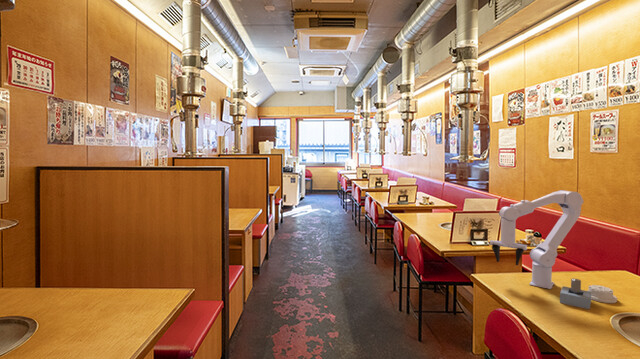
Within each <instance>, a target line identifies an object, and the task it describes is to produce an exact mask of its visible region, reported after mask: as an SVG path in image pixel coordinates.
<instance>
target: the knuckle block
mask: <svg viewBox="0 0 640 359" xmlns="http://www.w3.org/2000/svg"><path fill="white" fill-rule="evenodd" d="M559 303H560V304H564V305H568V306H571V307H572V306H573V307H576V308H582V309H586V310H590V309H591V304H592V299H591V292H590V291H588V290H585V289H581V295H577V294H573V293H571V286H570V287H569V286H564V285H562V288H561V290H560V293H559Z"/></svg>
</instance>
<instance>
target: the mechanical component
mask: <svg viewBox="0 0 640 359" xmlns="http://www.w3.org/2000/svg"><path fill="white" fill-rule="evenodd" d="M587 291H590V292H591V301H592V300H593V301H595V302H600V303H605V304H616V303H617V302H618V297H617V296H615V295H614V290H613V289H611V288H610V287H606V286H603V285H598V284H597V285H595V284H592V285H588V290H587Z"/></svg>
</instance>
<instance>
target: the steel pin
mask: <svg viewBox="0 0 640 359" xmlns="http://www.w3.org/2000/svg"><path fill="white" fill-rule="evenodd" d="M570 288H571V293H573V294H577V295H581V290H582V289H581V288H582V279H579V278H571V280H570Z"/></svg>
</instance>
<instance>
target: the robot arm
mask: <svg viewBox="0 0 640 359" xmlns="http://www.w3.org/2000/svg"><path fill="white" fill-rule="evenodd" d="M584 203H585V202H584V199H583V197H582V195H581V193H579V192H578V191H570V190H564V189H560V190H558V191H552V192H551V193H549V194H548V193H547V194H545V195H544V196H541V197H539V198H536V199H534V200H531V201H530V200H527V199H522V200H520V202H518V203H517V202H516V203H514V204H513V203H512V204H510V205H509V206H503V207H501V209H500V210H499V212H498V215H499V217H500V240H492V239H491V240H489V246H491V249H492V251H493V253H494V256H495V260H496V262H497V263H498V262H500V260H501V258H500V253H501V252H500V249H501V247H502V248H503V247H504V248H511V249H515V266H519V264H520V259H521V258H522V255H523V253H524V251H527V250H528V245H527V244H522V243H517V242H516V224H517V223H516V220H517V219H518V218H520V217H522V216H526V215H528V214H532V213H533V212H534V210H535V209H537V208H540V207H544V206H547V205H550V204H558V205H559V207H560V208H561V210H562V213H563V214H562V215H561V216H560V217H559V218H558V220H557V222H556V223H555V225H554V226H553V228H552V229H551V231H550V232H549V233H548V235H547V236H546V238H545V239H544V241H543V242H541V243H539V244H537V246H535V248H533V249H531V250H530V252H529V257H530V259H531V260H532V264H531V265H532V268H531V272H532V273H531V281H530V282H529V285H530V286H533V287H538V288H539V287H540V288H544V289H549V290H551V289H552V288H553V286H554V284H555V282H554V281H552V273H553V272H552V271H553V269H552V268H553V266H554V265H555V263H556V258H557V256H558V251H557V249H558V248H559V246H560V245H561V244H562V242H563V241H564V239H565V238H566V237H567V236H568V235H567V234H568V233H569V232H570V231H571V229H572V228H573V226H574V225H575V224H576V222H577V221H578V219H579V218H580V216H581V212H582V205H583V204H584Z"/></svg>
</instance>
